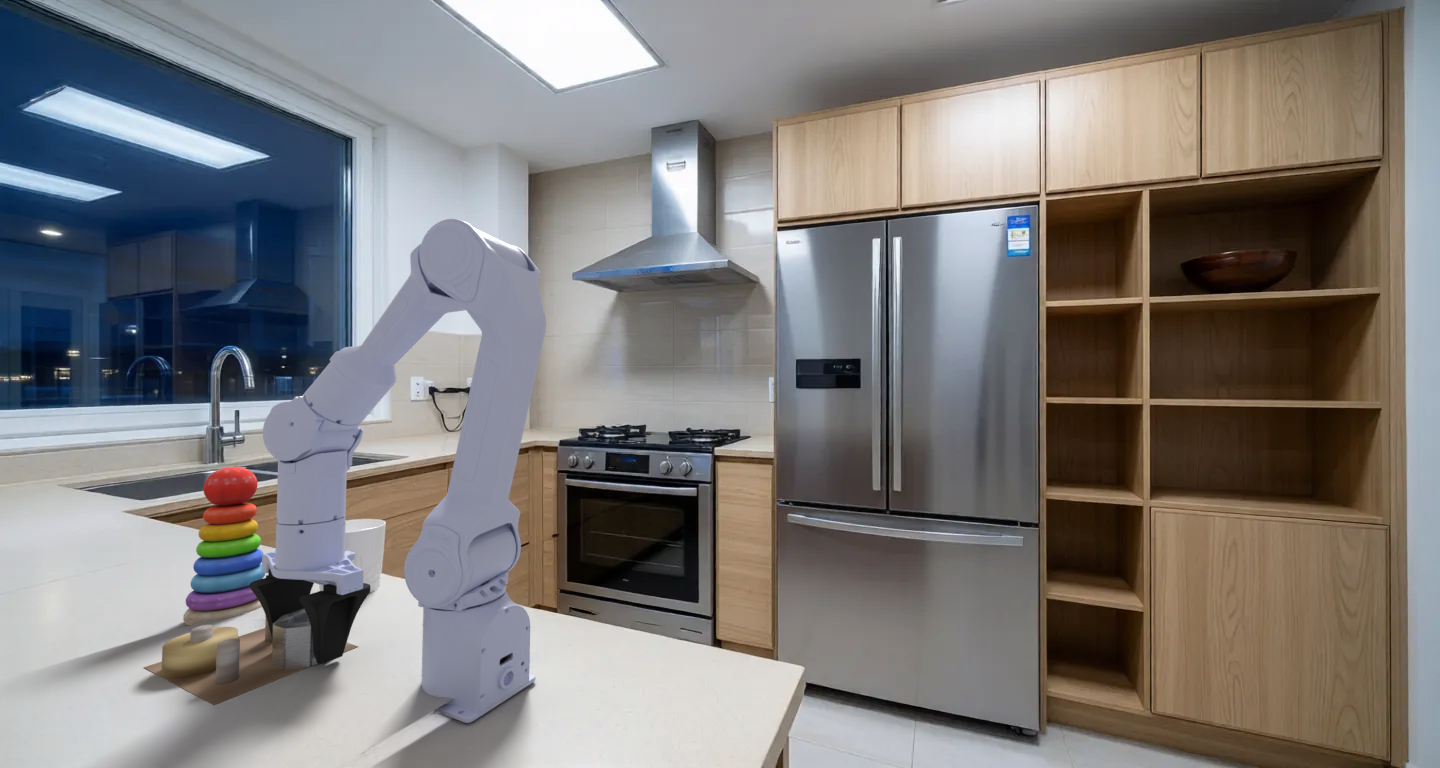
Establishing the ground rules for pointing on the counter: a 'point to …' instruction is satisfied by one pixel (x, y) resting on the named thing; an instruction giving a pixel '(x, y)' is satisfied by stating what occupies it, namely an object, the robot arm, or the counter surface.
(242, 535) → the stacking toy
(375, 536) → the white cup
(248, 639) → the board
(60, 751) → the counter surface
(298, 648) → the gear ring
